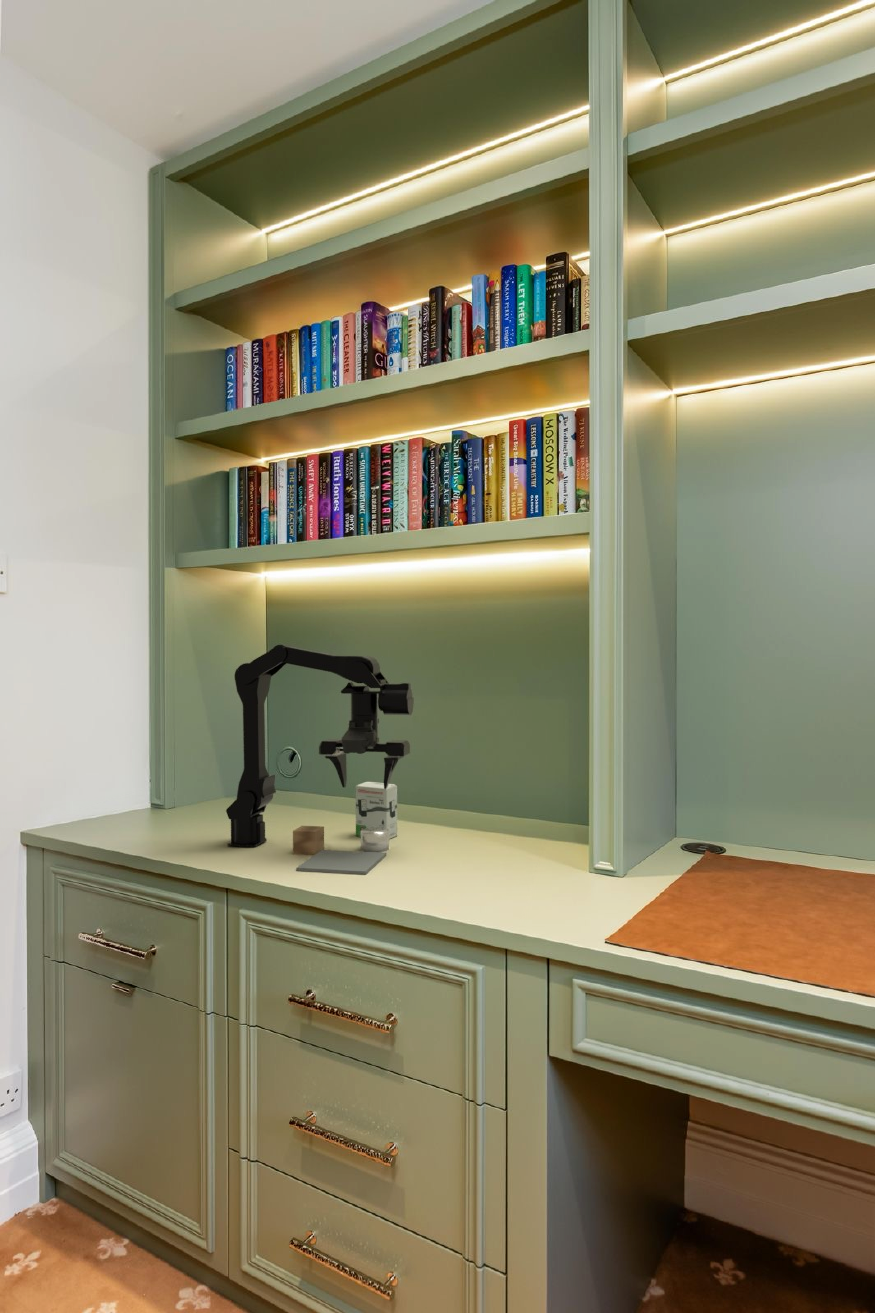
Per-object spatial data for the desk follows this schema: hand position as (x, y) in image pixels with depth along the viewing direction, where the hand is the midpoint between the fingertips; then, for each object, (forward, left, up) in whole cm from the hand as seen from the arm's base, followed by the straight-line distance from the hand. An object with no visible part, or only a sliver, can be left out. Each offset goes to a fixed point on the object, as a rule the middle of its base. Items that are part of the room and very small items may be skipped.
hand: (364, 787), depth 170 cm
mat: (-1, -12, -13) cm, 18 cm away
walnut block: (-11, -5, -13) cm, 18 cm away
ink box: (-1, +11, -13) cm, 17 cm away
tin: (+2, 0, -13) cm, 13 cm away
